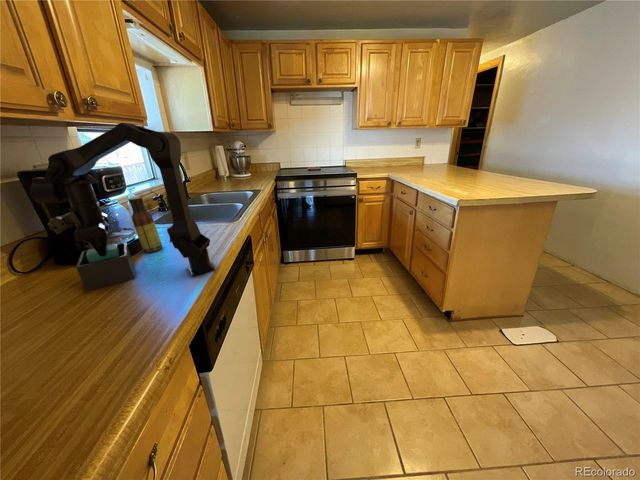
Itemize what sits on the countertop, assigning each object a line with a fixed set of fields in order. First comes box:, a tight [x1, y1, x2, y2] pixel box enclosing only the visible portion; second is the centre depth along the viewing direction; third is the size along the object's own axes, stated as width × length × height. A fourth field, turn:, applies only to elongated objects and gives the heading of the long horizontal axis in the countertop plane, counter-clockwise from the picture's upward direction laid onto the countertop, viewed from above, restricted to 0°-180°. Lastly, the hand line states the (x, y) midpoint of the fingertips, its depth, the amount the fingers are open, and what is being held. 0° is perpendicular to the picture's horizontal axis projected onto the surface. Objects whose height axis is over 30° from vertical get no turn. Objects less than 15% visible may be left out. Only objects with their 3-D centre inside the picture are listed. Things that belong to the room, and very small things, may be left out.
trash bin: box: [75, 242, 135, 292], centre depth 79 cm, size 13×11×8 cm
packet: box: [86, 243, 119, 263], centre depth 78 cm, size 7×5×2 cm
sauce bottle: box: [127, 196, 163, 253], centre depth 95 cm, size 7×6×20 cm
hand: (103, 253), depth 78 cm, fingers closed on packet, 5 cm apart
